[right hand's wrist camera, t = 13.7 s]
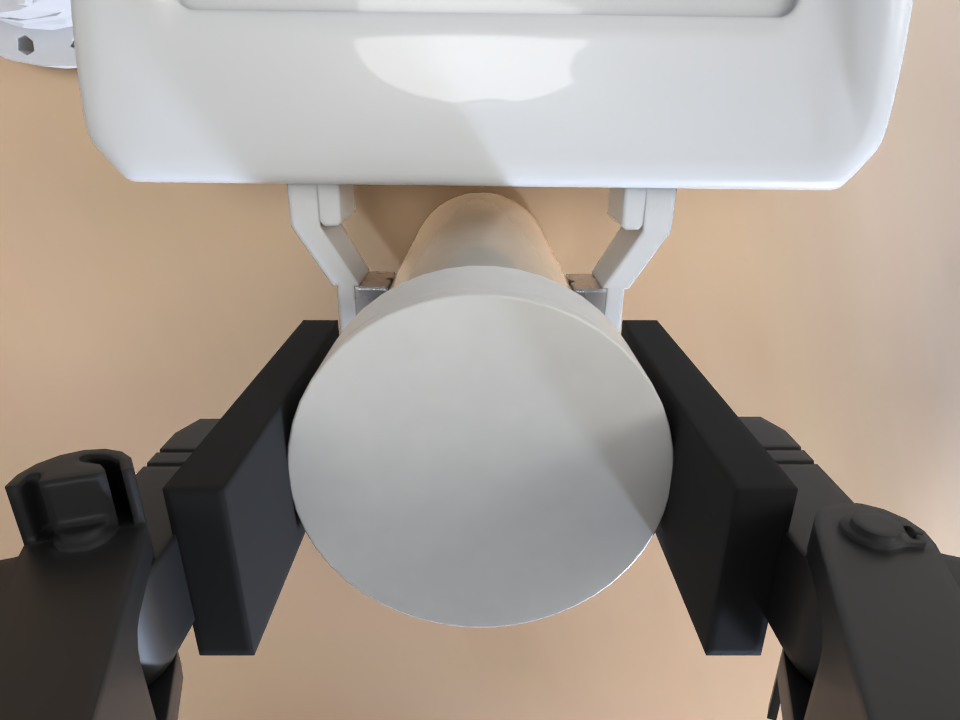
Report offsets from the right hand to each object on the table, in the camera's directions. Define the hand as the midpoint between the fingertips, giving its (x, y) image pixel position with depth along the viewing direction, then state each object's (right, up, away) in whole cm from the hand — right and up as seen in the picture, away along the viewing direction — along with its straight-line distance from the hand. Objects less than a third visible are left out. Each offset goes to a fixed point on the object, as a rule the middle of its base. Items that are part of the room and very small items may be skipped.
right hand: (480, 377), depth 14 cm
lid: (0, -1, -4) cm, 4 cm away
